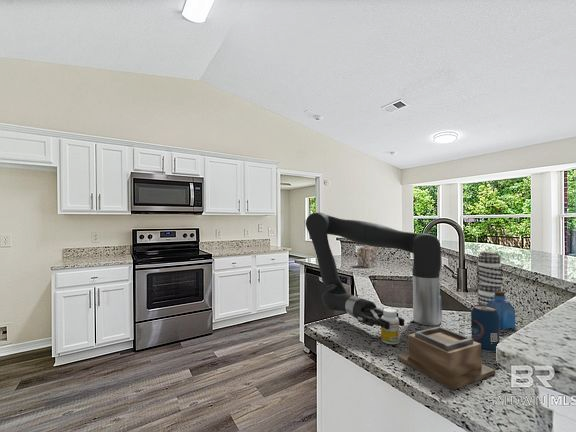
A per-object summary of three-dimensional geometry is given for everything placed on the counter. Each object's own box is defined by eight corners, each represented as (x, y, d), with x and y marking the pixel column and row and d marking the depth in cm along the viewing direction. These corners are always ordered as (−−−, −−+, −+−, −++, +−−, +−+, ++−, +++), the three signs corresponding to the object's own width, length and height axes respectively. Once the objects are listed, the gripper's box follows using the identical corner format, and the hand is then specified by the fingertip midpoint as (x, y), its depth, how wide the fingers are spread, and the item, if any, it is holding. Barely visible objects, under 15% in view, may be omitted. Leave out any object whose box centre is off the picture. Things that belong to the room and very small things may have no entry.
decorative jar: (365, 264, 247) (365, 244, 248) (377, 266, 238) (377, 244, 239) (357, 266, 239) (357, 245, 240) (369, 267, 231) (368, 245, 231)
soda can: (466, 343, 88) (465, 304, 88) (487, 342, 88) (486, 303, 89) (483, 353, 81) (482, 311, 81) (506, 352, 82) (505, 310, 82)
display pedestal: (437, 347, 85) (437, 321, 85) (495, 373, 70) (494, 341, 70) (397, 359, 78) (397, 329, 78) (452, 390, 64) (451, 354, 64)
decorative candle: (509, 316, 112) (507, 253, 113) (483, 314, 114) (482, 252, 115) (497, 309, 121) (496, 250, 122) (473, 307, 123) (472, 250, 124)
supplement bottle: (384, 336, 93) (384, 306, 93) (401, 340, 89) (401, 309, 89) (378, 341, 89) (378, 310, 89) (396, 346, 85) (395, 314, 85)
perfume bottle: (485, 323, 105) (485, 290, 105) (497, 321, 107) (496, 289, 107) (503, 329, 99) (503, 295, 99) (515, 327, 101) (514, 293, 101)
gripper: (343, 300, 99) (377, 315, 84) (375, 296, 105) (413, 308, 90) (344, 322, 99) (378, 341, 84) (376, 316, 105) (413, 332, 90)
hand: (396, 324), depth 87 cm, fingers closed on supplement bottle, 5 cm apart
